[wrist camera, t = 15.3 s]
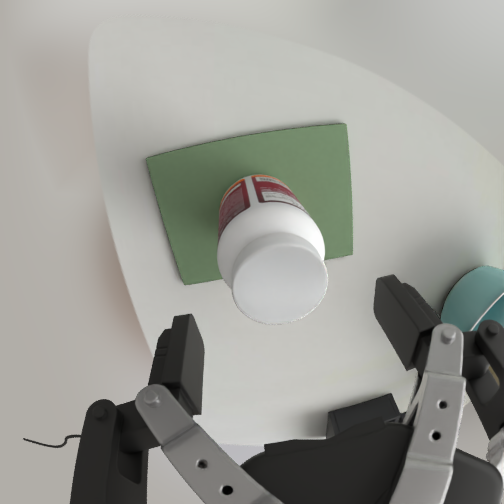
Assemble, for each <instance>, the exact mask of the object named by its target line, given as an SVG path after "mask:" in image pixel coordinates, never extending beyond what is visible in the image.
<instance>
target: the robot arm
mask: <svg viewBox="0 0 504 504" xmlns="http://www.w3.org/2000/svg"><path fill="white" fill-rule="evenodd" d="M374 313H375V317H376V319H377V320H378V322H379V324H380V325H381V327H382V329H383V330H384V332H385V334H386V335H387V337H388V339H389V341H390V342H391V344H392V346H393V347H394V349H395V351H396V353H397V354H398V356H399V358H400V360H401V362H402V363H403V365H404V367H405V369H406V371H408V370H411V369H413V368H416V369H417V371H418V372H417V375H416V379H415V383H414V387H413V391H412V395H411V398H410V402H409V406H408V409H407V412H406V415H405V417H404V419H403V422H402V423H395V422H386V423H384V420H383V418H382V416H380V417H377V418H374V419H371V420H368V421H365V422H362V423H359V424H355V425H353V426H352V427H350V428H348V429H346V430H344V431H342V432H340V433H339V434H337V435H335V436H333V437H331V438H329V439H324V440H297V439H294V440H288V441H283V442H277V443H270V444H264V449H265V451H264V452H262V453H259V454H257V455H255V456H253V457H251V458H250V459H248V460H247V461H246V462H244V463H243V464H242V465H241V466H239V465H238V464H237V463H235V462H234V461H233V460H232V459H231V458H230V457H229V456H228V455H227V454H226V453H225V452H224V451H223V450H222V449H221V448H220V447H219V446H218V445H217V444H216V442H215V441H214V440H213V439H212V438H211V437H210V436H209V435H208V434H207V433H206V432H205V431H204V430H203V429H202V428H201V427H200V425H198V424H197V423H196V422H195V421H194V420H193V415H201V410H202V387H203V368H204V344H203V340H202V337H201V334H200V332H199V329H198V327H197V324H196V322H195V319H194V316H193V315H192V314H186V315H179V316H174V319H173V323H172V328H171V329H165V330H164V331H163V333H162V334H161V335H160V337H159V338H158V342H157V347H156V348H157V349H156V351H155V357H154V360H153V364H152V369H151V373H150V378H149V383H148V386H147V387H145V388H143V389H142V390H141V391H140V392H139V393H138V394H137V396H136V399H135V400H133V401H130V402H127V403H124V404H120V405H117V406H115V404H114V403H113V402H111V401H110V400H106V399H102V400H98V401H96V402H94V403H93V404H92V405H91V406H90V407H89V408H88V410H87V413H86V417H85V421H84V425H83V429H82V434H81V435H69V436H67V437H66V438H65V442H64V443H63V444H62V445H58V446H52V445H46V444H42V443H39V442H35V441H32V440H28V439H25V438H23V439H24V440H26V441H29V442H32V443H36V444H39V445H43V446H47V447H53V448H60V447H63V446H64V445H65V444H66V443H67V439H69V438H74V437H80V438H81V439H80V443H79V448H78V454H77V459H76V464H75V471H74V477H73V483H72V491H71V499H70V504H147V470H148V451H149V449H151V448H154V447H158V446H161V449H162V451H163V453H164V454H165V455H166V457H167V458H168V459H169V461H170V462H171V463H172V465H173V466H174V467H175V469H176V470H177V471H178V472H179V474H180V475H181V476H182V477H183V479H184V480H185V481H186V482H187V483H188V485H189V486H190V487H191V488H192V489H193V491H194V492H195V493H196V494H197V495H198V496H199V497H200V499H201V500H202V501H203V502H204V503H205V504H502V497H503V490H504V328H503V326H502V325H501V324H500V323H498V322H497V321H494V320H484V321H482V322H481V323H480V325H479V327H478V329H477V330H476V331H466V332H461V330H460V329H459V328H458V327H456V326H455V325H452V324H448V323H443V322H442V321H441V320H440V318H439V317H438V316H437V315H436V313H435V312H434V311H433V310H432V309H431V307H430V306H429V305H428V304H427V303H426V301H425V300H424V299H423V298H422V297H421V295H420V294H419V293H418V292H417V291H416V289H415V288H413V287H412V286H410V285H408V284H406V283H403V284H402V283H401V282H400V281H399V280H398V279H397V277H396V276H395V275H388V276H384V277H380V278H377V280H376V287H375V297H374ZM489 366H491V368H492V369H493V371H494V372H495V374H496V376H497V377H498V379H499V385H498V384H497V382H496V380H495V378H494V377H493V375H492V373H491V372H490V370H489V369H488V368H489ZM465 390H466V392H467V394H468V396H469V398H470V400H471V402H472V404H473V406H474V408H475V410H476V412H477V414H478V416H479V418H480V420H481V422H482V425H483V427H484V429H485V431H486V433H487V436H488V438H489V440H490V442H489V445H488V453H487V454H486V458H487V461H489V462H487V461H485V460H482V459H480V458H478V457H475V456H473V455H471V454H468V453H466V452H464V451H462V450H459V449H457V448H456V444H457V440H458V435H459V430H460V424H461V419H462V412H463V405H464V397H465Z"/></svg>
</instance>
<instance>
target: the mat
mask: <svg viewBox="0 0 504 504" xmlns="http://www.w3.org/2000/svg"><path fill="white" fill-rule="evenodd" d="M146 161H147V165H148V169H149V173H150V176H151V180H152V184H153V187H154V191H155V195H156V198H157V202H158V205H159V209H160V212H161V215H162V219H163V222H164V225H165V228H166V232H167V235H168V238H169V241H170V244H171V247H172V250H173V254H174V257H175V260H176V263H177V266H178V268H179V271H180V274H181V277H182V280H183V283H184V285H190V284H196V283H202V282H208V281H214V280H219V279H223V278H222V276H221V273H220V271H219V267H218V261H217V247H218V228H219V209H220V204H221V201H222V198H223V196H224V194H225V193H226V191H227V190H228V189H229V188H230V187H231V186H232V185H233V184H234V183H235V182H236V181H238V180H240V179H242V178H244V177H247V176H250V175H258V174H261V175H268V176H272V177H274V178H277V179H278V180H280V181H282V182H283V183H284V184H285V185H287V186H288V187H289V189H290V190H291V191H292V193H293V194H294V195H295V196H296V198H297V199H298V200H299V202H300V203H301V204H302V206H303V207H304V209H305V210H306V211H307V213H308V214H309V215H310V217H311V218H312V219H313V221H314V222H315V224H316V225H317V227H318V228H319V230H320V232H321V234H322V237H323V241H324V246H325V257H324V260H328V259H333V258H338V257H343V256H348V255H352V254H353V217H352V189H351V171H350V157H349V145H348V135H347V125H346V124H330V125H319V126H309V127H300V128H292V129H284V130H277V131H270V132H263V133H257V134H251V135H245V136H239V137H234V138H228V139H223V140H218V141H213V142H209V143H204V144H200V145H195V146H191V147H187V148H182V149H178V150H174V151H170V152H166V153H163V154H159V155H155V156H152V157H148V158H146Z"/></svg>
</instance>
